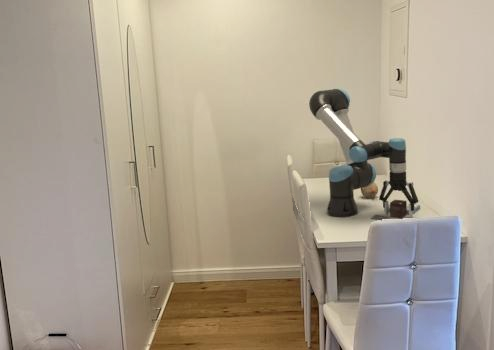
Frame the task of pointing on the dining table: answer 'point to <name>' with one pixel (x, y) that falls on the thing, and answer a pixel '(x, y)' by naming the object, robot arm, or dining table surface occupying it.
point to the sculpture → (370, 190)
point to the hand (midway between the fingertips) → (398, 215)
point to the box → (398, 208)
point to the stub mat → (379, 217)
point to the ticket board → (416, 208)
